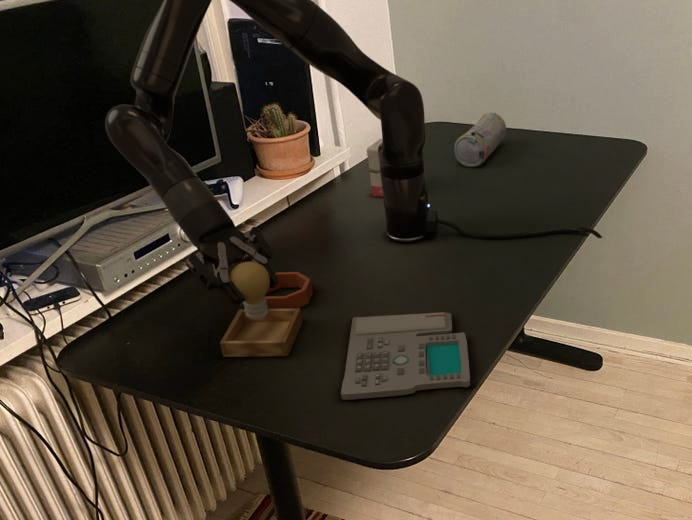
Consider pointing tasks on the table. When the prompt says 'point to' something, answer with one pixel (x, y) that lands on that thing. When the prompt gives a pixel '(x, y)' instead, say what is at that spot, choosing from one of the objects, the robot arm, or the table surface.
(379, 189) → the ink box
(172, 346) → the table surface
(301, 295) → the orange octagonal ring
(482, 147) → the pencil case
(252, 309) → the light bulb
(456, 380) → the office telephone
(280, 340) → the tray
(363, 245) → the table surface
